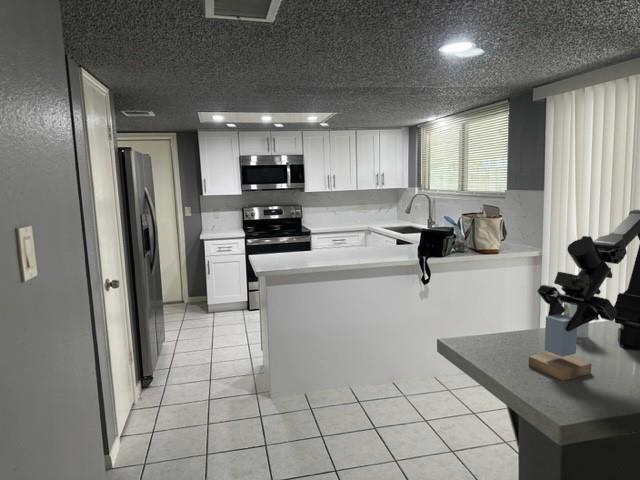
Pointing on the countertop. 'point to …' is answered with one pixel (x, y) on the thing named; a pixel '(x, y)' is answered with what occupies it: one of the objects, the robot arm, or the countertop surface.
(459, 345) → the countertop surface
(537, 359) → the walnut block
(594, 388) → the countertop surface
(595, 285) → the robot arm
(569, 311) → the syrup box
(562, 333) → the slate block
